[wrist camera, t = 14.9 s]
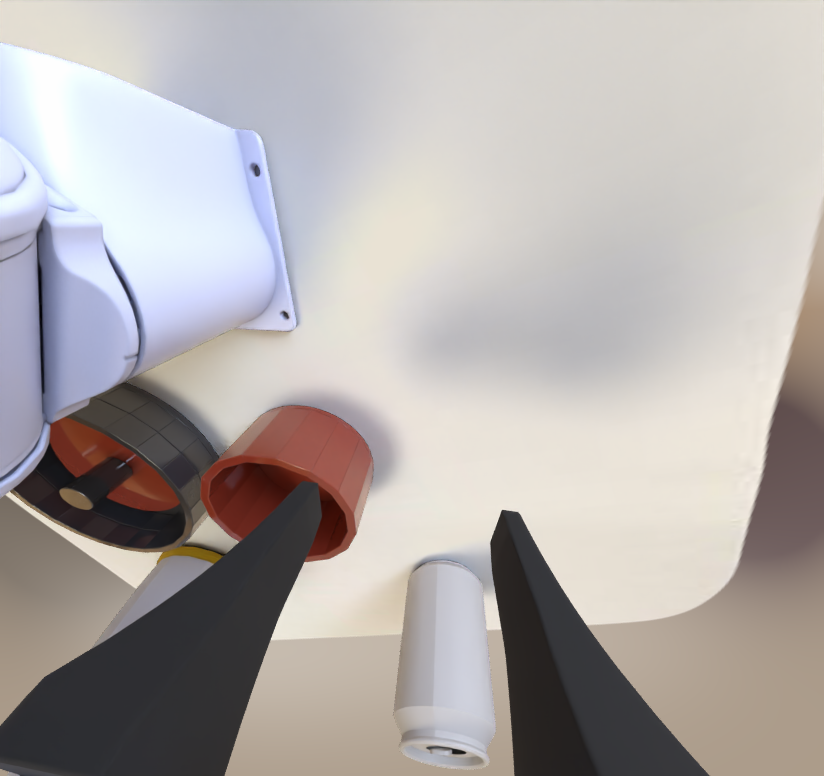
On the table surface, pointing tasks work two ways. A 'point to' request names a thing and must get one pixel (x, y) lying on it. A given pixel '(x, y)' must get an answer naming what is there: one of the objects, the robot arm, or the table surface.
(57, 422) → the lid
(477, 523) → the table surface
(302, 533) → the robot arm
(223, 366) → the table surface
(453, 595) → the can
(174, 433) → the pan
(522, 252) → the table surface
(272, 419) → the reddish brown bowl
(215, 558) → the soap bottle
